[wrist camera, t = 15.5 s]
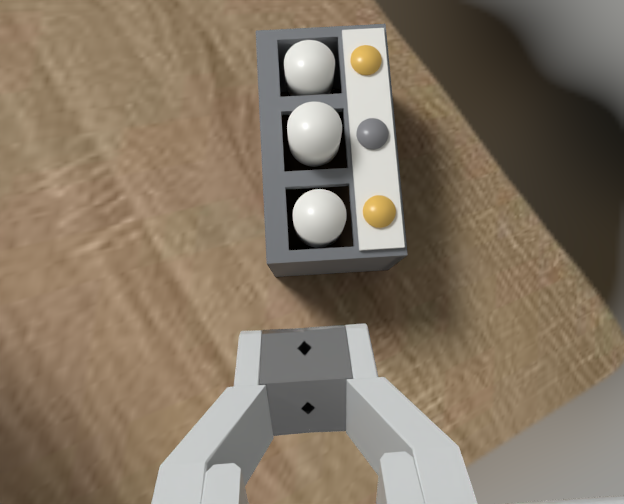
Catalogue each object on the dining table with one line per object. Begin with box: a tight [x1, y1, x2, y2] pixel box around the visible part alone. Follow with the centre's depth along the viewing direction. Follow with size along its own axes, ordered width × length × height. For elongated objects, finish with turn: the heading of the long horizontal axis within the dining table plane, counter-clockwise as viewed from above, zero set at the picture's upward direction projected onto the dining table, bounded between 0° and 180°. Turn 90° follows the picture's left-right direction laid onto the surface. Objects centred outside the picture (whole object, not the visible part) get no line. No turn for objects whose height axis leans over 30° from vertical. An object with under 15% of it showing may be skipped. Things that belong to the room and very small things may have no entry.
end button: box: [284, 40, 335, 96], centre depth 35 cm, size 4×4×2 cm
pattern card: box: [342, 28, 405, 251], centre depth 33 cm, size 16×3×1 cm, turn 4°
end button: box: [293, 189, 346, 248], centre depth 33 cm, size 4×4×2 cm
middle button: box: [287, 102, 342, 167], centre depth 32 cm, size 4×4×2 cm
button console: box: [256, 24, 407, 277], centre depth 37 cm, size 17×9×8 cm, turn 4°
